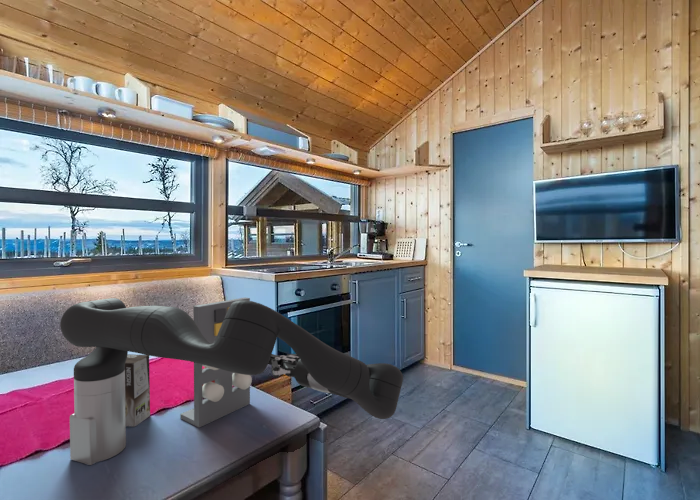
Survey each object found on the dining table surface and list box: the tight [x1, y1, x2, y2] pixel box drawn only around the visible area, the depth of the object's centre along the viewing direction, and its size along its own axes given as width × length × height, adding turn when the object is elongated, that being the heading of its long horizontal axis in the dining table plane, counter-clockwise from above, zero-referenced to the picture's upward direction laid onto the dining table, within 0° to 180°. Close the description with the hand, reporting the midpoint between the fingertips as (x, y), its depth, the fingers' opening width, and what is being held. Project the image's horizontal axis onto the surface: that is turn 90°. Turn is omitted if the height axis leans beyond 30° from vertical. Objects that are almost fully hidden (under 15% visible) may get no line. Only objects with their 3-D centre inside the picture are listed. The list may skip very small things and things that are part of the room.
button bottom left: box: [202, 382, 224, 402], centre depth 94 cm, size 4×4×4 cm
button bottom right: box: [232, 373, 253, 390], centre depth 101 cm, size 4×4×4 cm
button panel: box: [179, 297, 251, 429], centre depth 100 cm, size 9×16×30 cm, turn 146°
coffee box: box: [125, 353, 151, 428], centre depth 95 cm, size 9×6×16 cm
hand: (267, 358), depth 95 cm, fingers closed
